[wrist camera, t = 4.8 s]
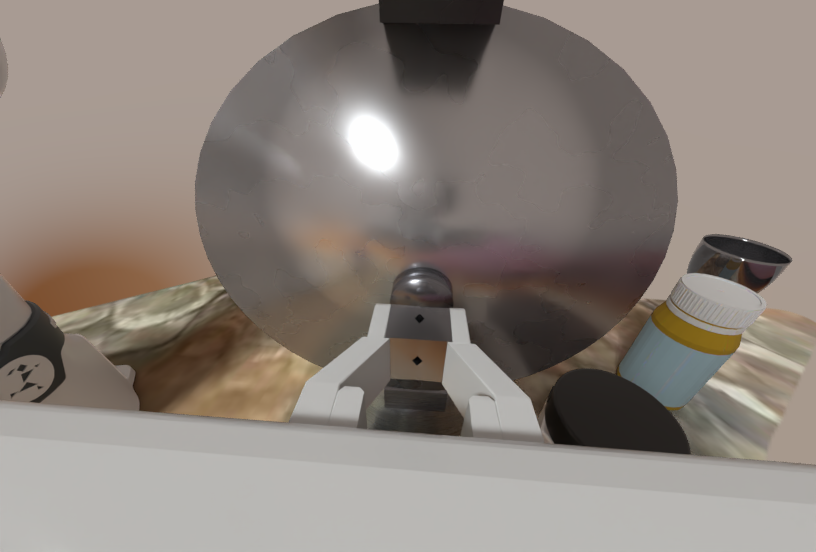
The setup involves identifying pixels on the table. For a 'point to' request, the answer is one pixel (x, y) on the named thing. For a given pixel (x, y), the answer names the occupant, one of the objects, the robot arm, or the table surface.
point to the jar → (608, 415)
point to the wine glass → (739, 261)
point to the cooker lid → (437, 183)
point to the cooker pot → (414, 412)
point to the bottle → (690, 337)
